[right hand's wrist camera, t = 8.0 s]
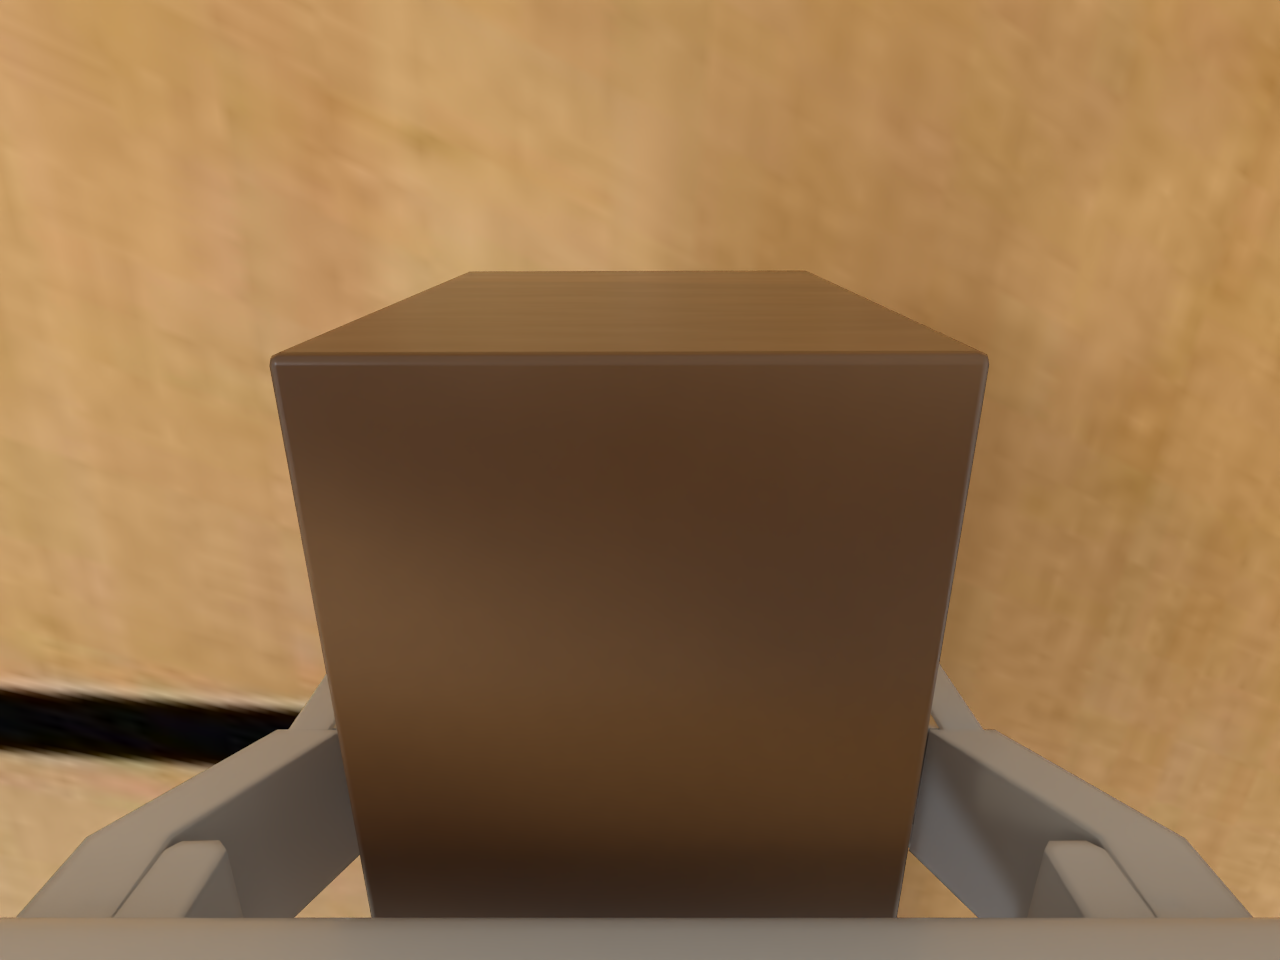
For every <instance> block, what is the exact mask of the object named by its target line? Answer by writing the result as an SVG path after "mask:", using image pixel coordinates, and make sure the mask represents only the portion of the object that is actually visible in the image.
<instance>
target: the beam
mask: <svg viewBox="0 0 1280 960" xmlns="http://www.w3.org/2000/svg"><path fill="white" fill-rule="evenodd" d="M988 368H989V361H988V356H987V354H985V353H983V352H980V351H978V350H976V349H974V348H972V347H970V346H967V345H965V344H963V343H961V342H959V341H957V340H954V339H952V338H950V337H948V336H946V335H944V334H941V333H939V332H937V331H935V330H933V329H931V328H928V327H926V326H924V325H922V324H920V323H918V322H916V321H913V320H911V319H909V318H907V317H905V316H903V315H900V314H898V313H896V312H894V311H892V310H890V309H887V308H885V307H883V306H881V305H879V304H877V303H874V302H872V301H870V300H868V299H866V298H864V297H861V296H859V295H857V294H855V293H853V292H851V291H848V290H846V289H844V288H842V287H840V286H838V285H835V284H833V283H831V282H829V281H827V280H825V279H823V278H820V277H818V276H816V275H814V274H812V273H810V272H807V271H538V272H468V273H466V274H463V275H461V276H459V277H456V278H454V279H451V280H449V281H447V282H444V283H442V284H440V285H437V286H435V287H433V288H430V289H428V290H426V291H423V292H421V293H418V294H416V295H414V296H411V297H409V298H407V299H404V300H402V301H400V302H397V303H395V304H393V305H390V306H388V307H385V308H383V309H381V310H378V311H376V312H374V313H371V314H369V315H367V316H364V317H362V318H360V319H357V320H355V321H353V322H350V323H348V324H345V325H343V326H341V327H338V328H336V329H334V330H331V331H329V332H327V333H324V334H322V335H320V336H317V337H315V338H312V339H310V340H308V341H305V342H303V343H301V344H298V345H296V346H294V347H291V348H289V349H287V350H284V351H282V352H279V353H277V354H275V355H273V356H272V357H271V360H270V371H271V376H272V381H273V387H274V392H275V398H276V403H277V408H278V414H279V419H280V425H281V430H282V435H283V441H284V446H285V452H286V457H287V463H288V468H289V473H290V479H291V484H292V490H293V495H294V500H295V506H296V511H297V517H298V522H299V527H300V533H301V538H302V544H303V549H304V555H305V560H306V565H307V571H308V576H309V582H310V587H311V592H312V598H313V603H314V609H315V614H316V619H317V625H318V630H319V636H320V641H321V647H322V652H323V657H324V663H325V668H326V674H327V679H328V684H329V690H330V695H331V701H332V706H333V711H334V717H335V722H336V728H337V733H338V739H339V744H340V749H341V755H342V760H343V766H344V771H345V776H346V782H347V787H348V793H349V798H350V803H351V809H352V814H353V820H354V825H355V831H356V836H357V841H358V847H359V852H360V858H361V863H362V868H363V874H364V879H365V885H366V890H367V895H368V901H369V906H370V912H371V917H372V918H897V912H898V906H899V900H900V894H901V888H902V882H903V876H904V870H905V864H906V858H907V852H908V846H909V840H910V834H911V828H912V822H913V816H914V810H915V804H916V798H917V792H918V786H919V780H920V774H921V768H922V762H923V757H924V751H925V745H926V739H927V733H928V727H929V721H930V715H931V709H932V703H933V697H934V691H935V685H936V679H937V673H938V667H939V661H940V655H941V649H942V643H943V637H944V631H945V625H946V619H947V613H948V607H949V601H950V595H951V589H952V583H953V577H954V571H955V565H956V559H957V553H958V547H959V541H960V535H961V529H962V523H963V517H964V511H965V505H966V499H967V493H968V487H969V481H970V475H971V469H972V463H973V457H974V451H975V445H976V440H977V434H978V428H979V422H980V416H981V410H982V404H983V398H984V392H985V386H986V380H987V374H988Z"/></svg>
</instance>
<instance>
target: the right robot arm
mask: <svg viewBox="0 0 1280 960" xmlns="http://www.w3.org/2000/svg"><path fill="white" fill-rule="evenodd" d="M908 847H910V849H909V851H910V852H911V853H912V854H913V855H914V856H915V857H916V858H917V859H918V860H919V861H920V862H921V863H922V864H924V865H925V866H926V867H927V868H928V869H929V870H930V871H931V872H932V873H933V874H934V875H935V876H936V877H937V878H938V879H939V880H940V881H941V882H942V883H943V884H944V885H945V886H946V887H947V888H948V889H949V890H950V891H951V892H952V893H953V894H954V895H955V896H956V897H957V898H959V899H960V900H961V901H962V902H963V903H964V904H965V905H966V906H967V907H968V908H969V909H970V910H971V911H972V912H973V913H974V914H975V915H976V916H977V917H978V918H294V917H295V916H296V915H297V914H298V913H299V912H300V911H301V910H302V909H303V908H305V907H306V906H307V905H308V904H309V903H310V902H311V901H312V900H313V899H314V898H315V897H316V896H317V895H318V894H319V893H320V892H321V891H322V890H323V889H324V888H325V887H326V886H327V885H329V884H330V883H331V882H332V881H333V880H334V879H335V878H336V877H337V876H338V875H339V874H340V873H341V872H342V871H343V870H344V869H345V868H346V867H347V866H348V865H349V864H350V863H351V862H353V861H354V860H355V859H356V858H357V857H358V856H359V855H360V852H359V847H358V841H357V836H356V831H355V825H354V820H353V814H352V809H351V803H350V798H349V793H348V787H347V782H346V776H345V771H344V766H343V760H342V755H341V749H340V744H339V739H338V733H337V728H336V722H335V717H334V711H333V706H332V701H331V695H330V690H329V684H328V679H327V674H326V675H325V676H324V678H323V679H322V681H321V682H320V684H319V685H318V687H317V688H316V690H315V691H314V693H313V694H312V696H311V697H310V699H309V700H308V702H307V703H306V705H305V706H304V708H303V709H302V710H301V712H300V713H299V715H298V716H297V718H296V719H295V721H294V722H293V724H292V725H291V727H290V728H289V730H276V731H274V732H272V733H271V734H269V735H267V736H265V737H263V738H262V739H260V740H258V741H256V742H255V743H253V744H251V745H249V746H248V747H246V748H244V749H242V750H240V751H239V752H237V753H235V754H233V755H232V756H230V757H228V758H226V759H224V760H223V761H221V762H219V763H217V764H216V765H214V766H212V767H210V768H208V769H207V770H205V771H203V772H201V773H200V774H198V775H196V776H194V777H193V778H191V779H189V780H187V781H185V782H184V783H182V784H180V785H178V786H177V787H175V788H173V789H171V790H169V791H168V792H166V793H164V794H162V795H161V796H159V797H157V798H155V799H153V800H152V801H150V802H148V803H146V804H145V805H143V806H141V807H139V808H138V809H136V810H134V811H132V812H130V813H129V814H127V815H125V816H123V817H122V818H120V819H118V820H116V821H114V822H113V823H111V824H109V825H107V826H106V827H104V828H102V829H100V830H98V831H97V832H95V833H93V834H91V835H90V836H88V837H86V838H85V839H84V841H83V842H82V843H81V844H80V845H79V846H78V847H77V849H76V850H75V851H74V852H73V853H72V854H71V855H70V857H69V858H68V859H67V860H66V861H65V862H64V863H63V864H62V866H61V867H60V868H59V869H58V870H57V871H56V872H55V874H54V875H53V876H52V877H51V878H50V879H49V880H48V882H47V883H46V884H45V885H44V886H43V887H42V888H41V889H40V891H39V892H38V893H37V894H36V895H35V896H34V897H33V899H32V900H31V901H30V902H29V903H28V904H27V905H26V906H25V908H24V909H23V910H22V911H21V912H20V913H19V914H18V916H17V917H16V918H0V960H1280V918H1253V917H1252V916H1251V914H1250V913H1249V912H1248V911H1247V910H1246V909H1245V907H1244V906H1243V905H1242V904H1241V903H1240V902H1239V900H1238V899H1237V898H1236V897H1235V896H1234V895H1233V893H1232V892H1231V891H1230V890H1229V889H1228V888H1227V886H1226V885H1225V884H1224V883H1223V882H1222V881H1221V879H1220V878H1219V877H1218V876H1217V875H1216V874H1215V872H1214V871H1213V870H1212V869H1211V868H1210V867H1209V865H1208V864H1207V863H1206V862H1205V861H1204V860H1203V859H1202V857H1201V856H1200V855H1199V854H1198V853H1197V852H1196V850H1195V849H1194V848H1193V847H1192V846H1191V845H1190V843H1189V842H1188V841H1187V840H1186V839H1185V838H1184V837H1182V836H1180V835H1178V834H1177V833H1175V832H1173V831H1171V830H1170V829H1168V828H1166V827H1164V826H1163V825H1161V824H1159V823H1157V822H1156V821H1154V820H1152V819H1150V818H1149V817H1147V816H1145V815H1143V814H1142V813H1140V812H1138V811H1136V810H1135V809H1133V808H1131V807H1129V806H1127V805H1126V804H1124V803H1122V802H1120V801H1119V800H1117V799H1115V798H1113V797H1112V796H1110V795H1108V794H1106V793H1105V792H1103V791H1101V790H1099V789H1098V788H1096V787H1094V786H1092V785H1091V784H1089V783H1087V782H1085V781H1084V780H1082V779H1080V778H1078V777H1077V776H1075V775H1073V774H1071V773H1070V772H1068V771H1066V770H1064V769H1063V768H1061V767H1059V766H1057V765H1056V764H1054V763H1052V762H1050V761H1049V760H1047V759H1045V758H1043V757H1042V756H1040V755H1038V754H1036V753H1035V752H1033V751H1031V750H1029V749H1028V748H1026V747H1024V746H1022V745H1021V744H1019V743H1017V742H1015V741H1014V740H1012V739H1010V738H1008V737H1007V736H1005V735H1003V734H1001V733H1000V732H998V731H996V730H983V728H982V727H981V725H980V724H979V722H978V721H977V719H976V718H975V716H974V715H973V713H972V712H971V710H970V709H969V707H968V706H967V704H966V703H965V701H964V700H963V698H962V697H961V695H960V694H959V692H958V691H957V689H956V688H955V686H954V685H953V683H952V682H951V680H950V679H949V677H948V676H947V674H946V673H945V671H944V670H943V668H942V667H941V665H940V664H939V667H938V673H937V679H936V685H935V691H934V697H933V703H932V709H931V715H930V721H929V727H928V733H927V739H926V745H925V751H924V757H923V762H922V768H921V774H920V780H919V786H918V792H917V798H916V804H915V810H914V816H913V822H912V828H911V834H910V840H909V846H908Z"/></svg>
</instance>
